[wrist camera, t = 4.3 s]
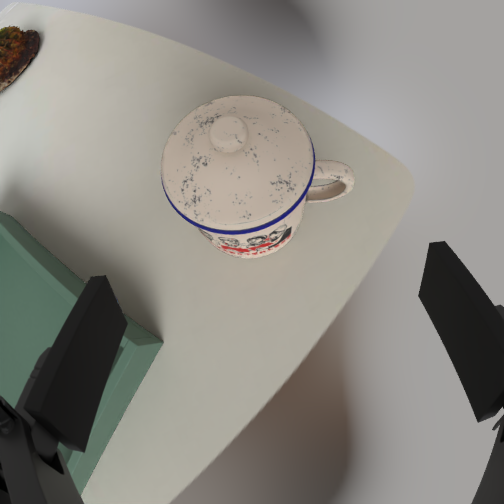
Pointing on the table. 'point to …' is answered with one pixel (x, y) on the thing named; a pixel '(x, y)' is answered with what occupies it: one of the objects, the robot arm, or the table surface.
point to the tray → (47, 329)
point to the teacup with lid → (246, 174)
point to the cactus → (15, 52)
